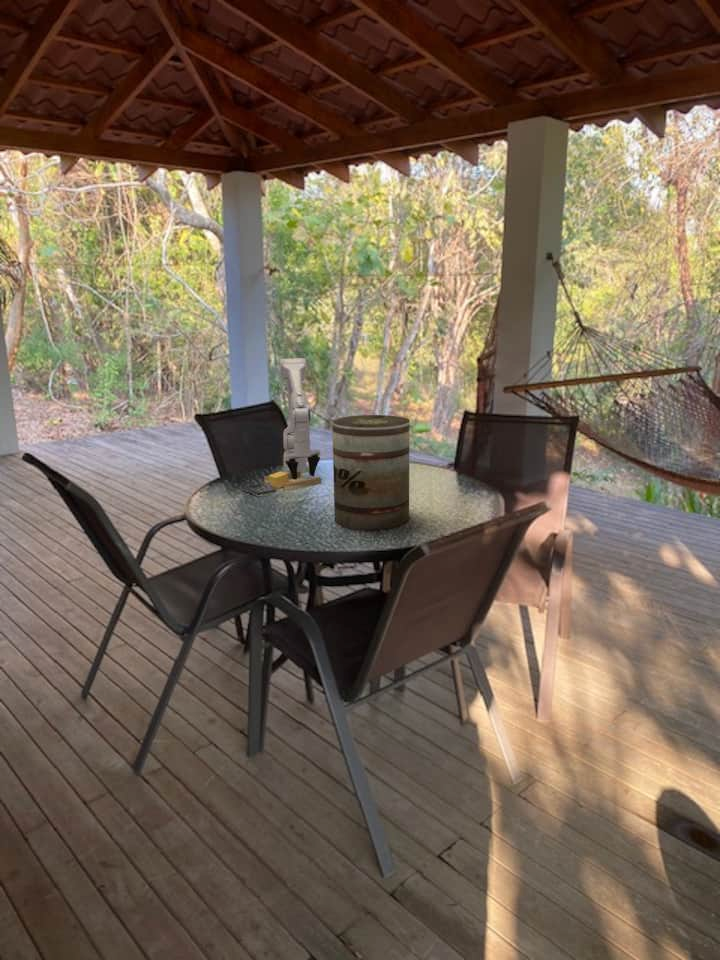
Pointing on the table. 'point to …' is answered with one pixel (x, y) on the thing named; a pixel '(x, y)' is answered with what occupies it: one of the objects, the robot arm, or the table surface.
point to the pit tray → (256, 491)
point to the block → (278, 479)
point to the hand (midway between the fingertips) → (303, 477)
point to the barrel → (371, 472)
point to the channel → (297, 481)
